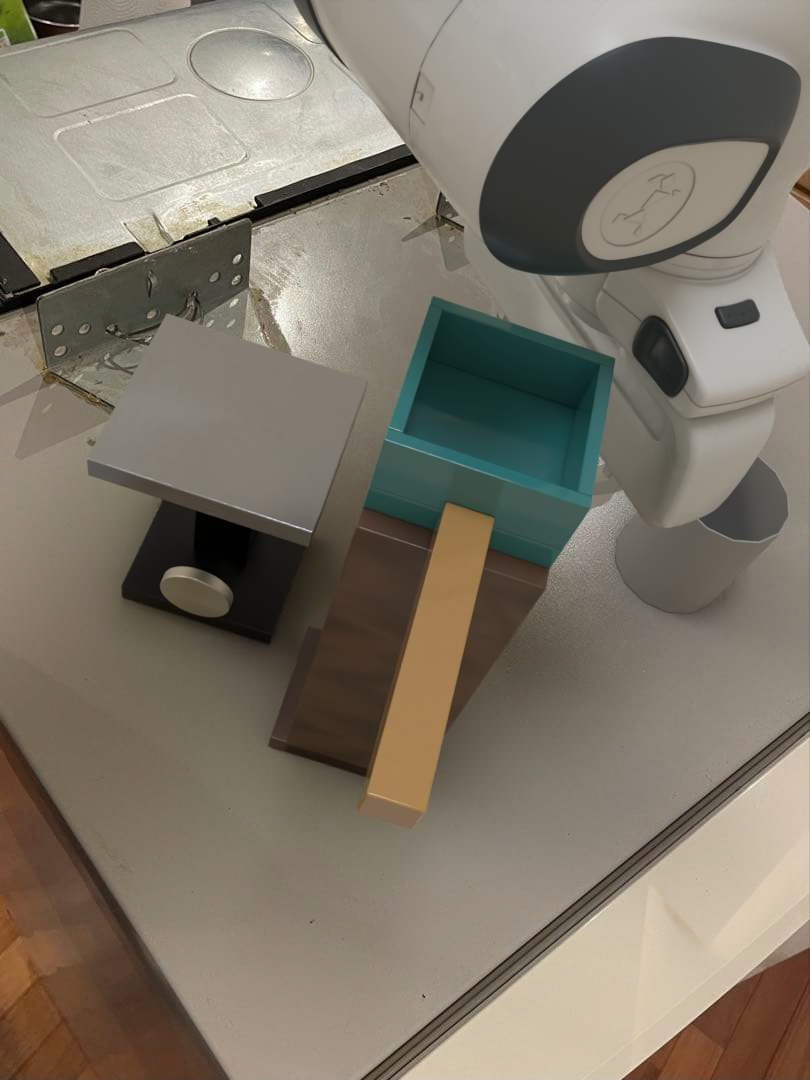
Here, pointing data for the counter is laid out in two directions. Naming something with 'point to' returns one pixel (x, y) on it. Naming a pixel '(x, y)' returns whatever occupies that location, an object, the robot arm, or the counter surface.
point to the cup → (704, 545)
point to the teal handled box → (474, 505)
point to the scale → (225, 471)
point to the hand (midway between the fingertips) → (543, 430)
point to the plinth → (388, 641)
